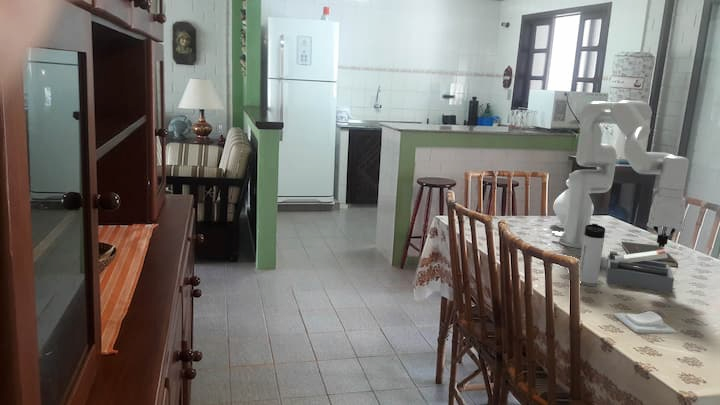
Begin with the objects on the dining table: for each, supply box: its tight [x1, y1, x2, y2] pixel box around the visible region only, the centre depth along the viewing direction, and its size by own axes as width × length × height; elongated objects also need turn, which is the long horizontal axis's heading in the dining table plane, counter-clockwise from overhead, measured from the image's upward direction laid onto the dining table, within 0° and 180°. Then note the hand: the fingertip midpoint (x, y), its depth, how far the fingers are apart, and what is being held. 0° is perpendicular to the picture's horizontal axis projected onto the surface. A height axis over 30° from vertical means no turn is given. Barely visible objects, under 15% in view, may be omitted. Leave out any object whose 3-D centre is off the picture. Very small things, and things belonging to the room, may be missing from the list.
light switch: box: [614, 310, 679, 334], centre depth 162 cm, size 11×4×13 cm
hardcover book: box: [621, 241, 679, 268], centre depth 230 cm, size 16×23×2 cm
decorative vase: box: [552, 172, 595, 230], centre depth 267 cm, size 18×18×25 cm
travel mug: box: [579, 223, 606, 287], centre depth 191 cm, size 6×7×20 cm
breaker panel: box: [605, 250, 675, 294], centre depth 199 cm, size 20×16×7 cm
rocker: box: [615, 248, 668, 263], centre depth 198 cm, size 16×5×2 cm, turn 67°
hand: (661, 245), depth 195 cm, fingers closed
